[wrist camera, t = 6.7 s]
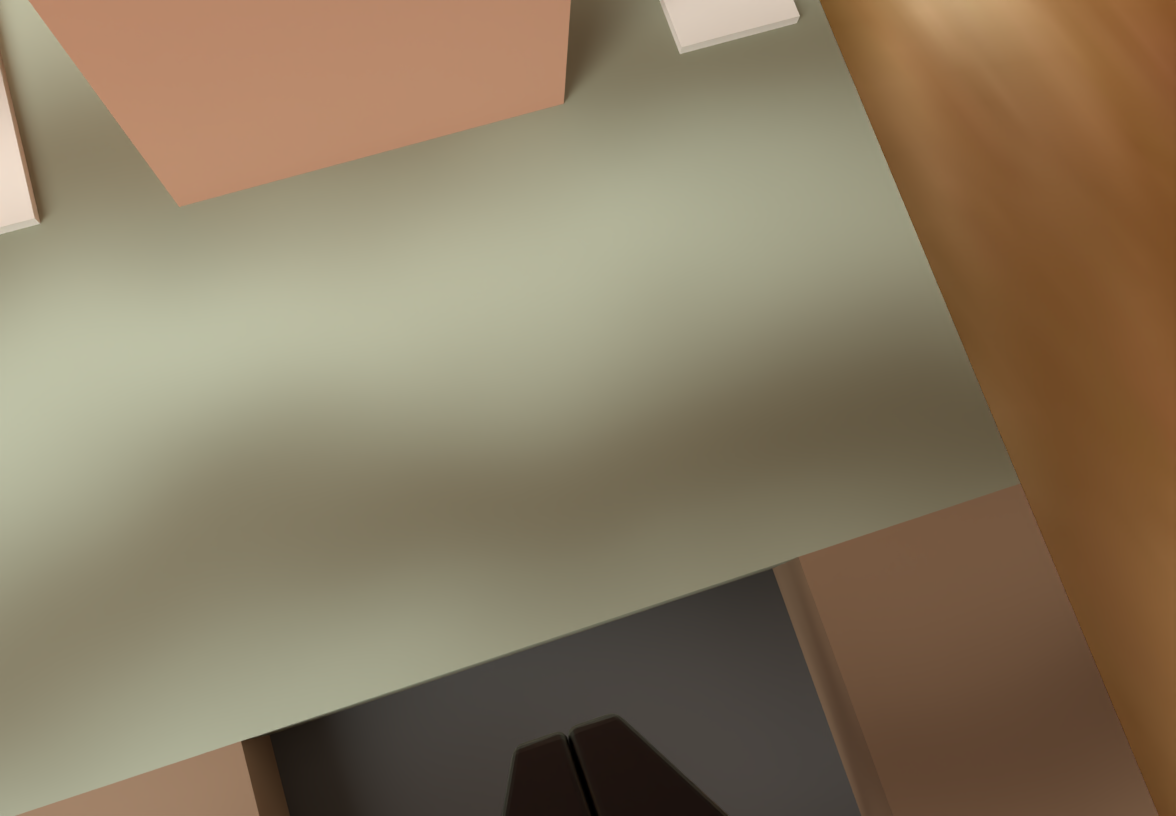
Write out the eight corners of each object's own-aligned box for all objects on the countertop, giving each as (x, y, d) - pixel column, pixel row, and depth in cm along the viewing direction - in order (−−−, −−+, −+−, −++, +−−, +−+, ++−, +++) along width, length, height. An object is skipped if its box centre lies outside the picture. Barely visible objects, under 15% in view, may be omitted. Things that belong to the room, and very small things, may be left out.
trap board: (1216, 1122, 16) (1323, 1191, 14) (191, 1554, 14) (131, 1709, 12) (507, -635, 23) (505, -766, 21) (-231, -503, 22) (-315, -633, 19)
